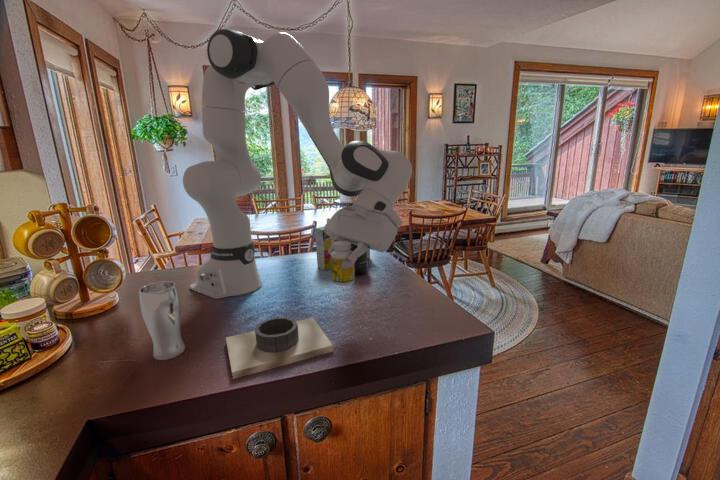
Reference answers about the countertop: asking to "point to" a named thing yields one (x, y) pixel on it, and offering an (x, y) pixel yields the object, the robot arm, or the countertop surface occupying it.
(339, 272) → the supplement bottle
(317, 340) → the collar stand
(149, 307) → the beer glass
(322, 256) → the snack box
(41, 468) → the countertop surface
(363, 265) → the supplement bottle
